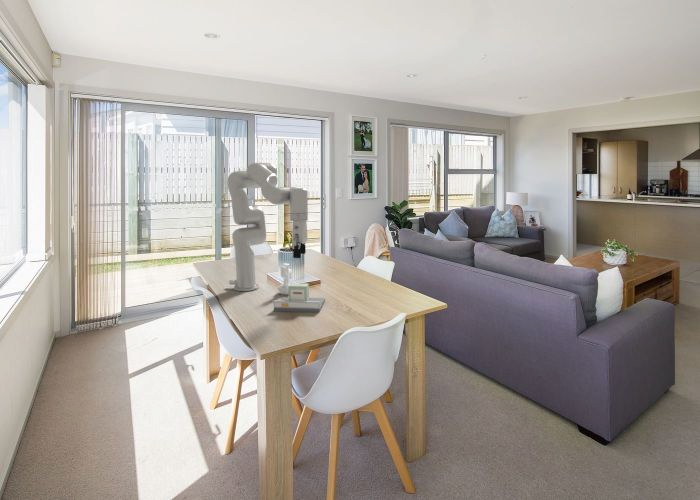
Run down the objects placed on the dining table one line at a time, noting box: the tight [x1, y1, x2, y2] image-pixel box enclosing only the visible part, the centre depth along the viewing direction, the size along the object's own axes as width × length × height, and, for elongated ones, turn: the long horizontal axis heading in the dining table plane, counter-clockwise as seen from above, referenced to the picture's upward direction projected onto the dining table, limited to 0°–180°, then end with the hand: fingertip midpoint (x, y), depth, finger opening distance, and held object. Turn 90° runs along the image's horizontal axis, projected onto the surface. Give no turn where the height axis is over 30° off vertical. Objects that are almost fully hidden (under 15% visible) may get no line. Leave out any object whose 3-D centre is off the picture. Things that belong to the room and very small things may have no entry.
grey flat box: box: [273, 296, 326, 313], centre depth 187 cm, size 20×16×4 cm
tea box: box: [288, 282, 310, 301], centre depth 183 cm, size 8×5×9 cm, turn 85°
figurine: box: [277, 263, 293, 296], centre depth 206 cm, size 7×9×15 cm
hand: (299, 255), depth 183 cm, fingers open, 9 cm apart
